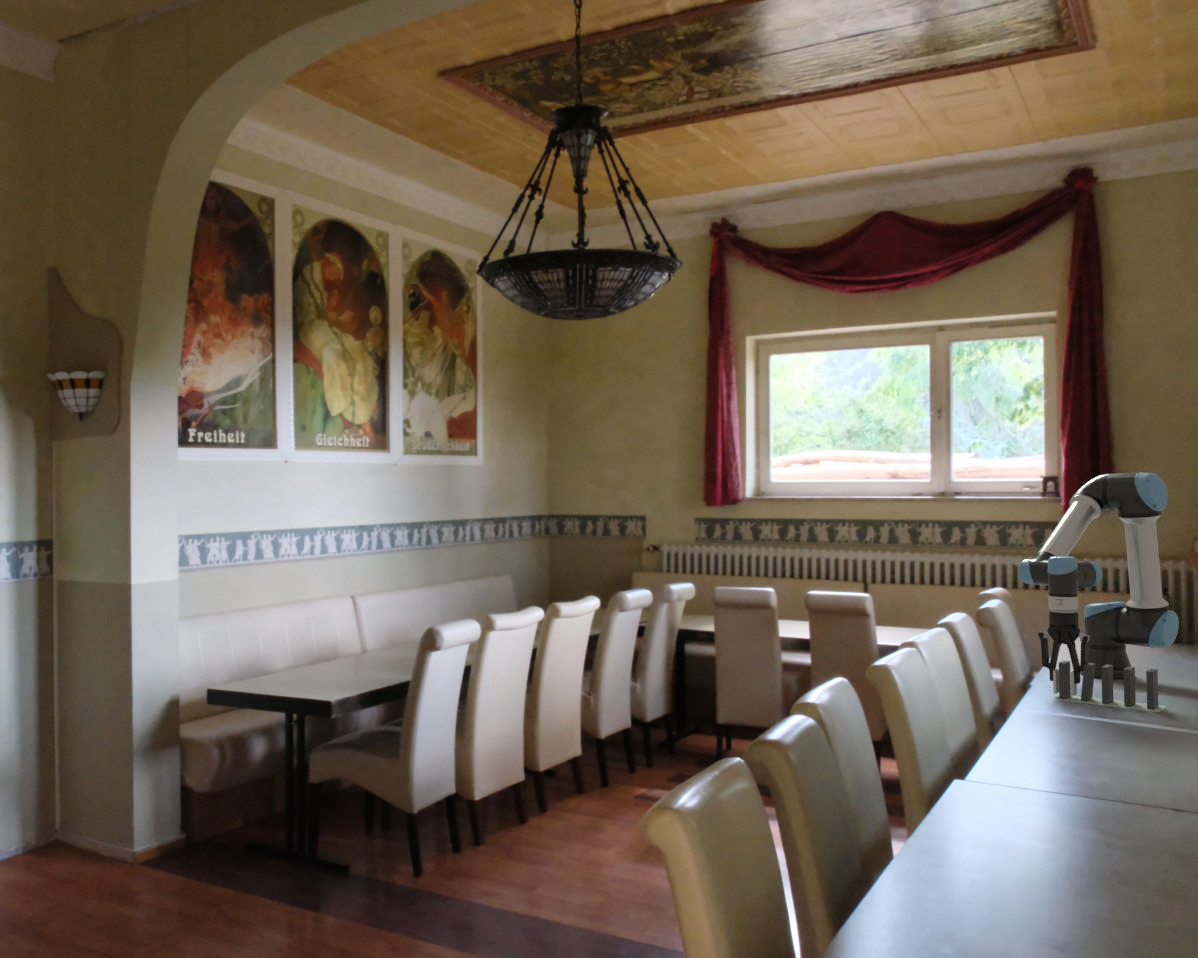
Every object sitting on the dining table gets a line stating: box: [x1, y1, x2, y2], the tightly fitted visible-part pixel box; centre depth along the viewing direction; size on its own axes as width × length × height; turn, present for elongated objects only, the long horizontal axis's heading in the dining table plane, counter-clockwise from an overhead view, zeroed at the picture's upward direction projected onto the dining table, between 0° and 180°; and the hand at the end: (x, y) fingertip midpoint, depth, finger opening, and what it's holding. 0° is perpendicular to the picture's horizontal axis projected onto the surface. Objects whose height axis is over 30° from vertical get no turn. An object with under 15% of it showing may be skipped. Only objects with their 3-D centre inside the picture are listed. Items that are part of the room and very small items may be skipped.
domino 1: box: [1058, 660, 1071, 699], centre depth 275 cm, size 5×2×10 cm, turn 138°
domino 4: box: [1123, 666, 1137, 707], centre depth 264 cm, size 5×2×10 cm, turn 138°
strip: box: [1051, 694, 1168, 713], centre depth 268 cm, size 9×27×1 cm, turn 48°
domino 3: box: [1101, 664, 1115, 704], centre depth 268 cm, size 5×2×10 cm, turn 138°
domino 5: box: [1145, 668, 1159, 710], centre depth 260 cm, size 5×2×10 cm, turn 138°
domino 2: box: [1080, 662, 1095, 702], centre depth 271 cm, size 5×2×10 cm, turn 138°
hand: (1065, 693), depth 275 cm, fingers open, 4 cm apart
